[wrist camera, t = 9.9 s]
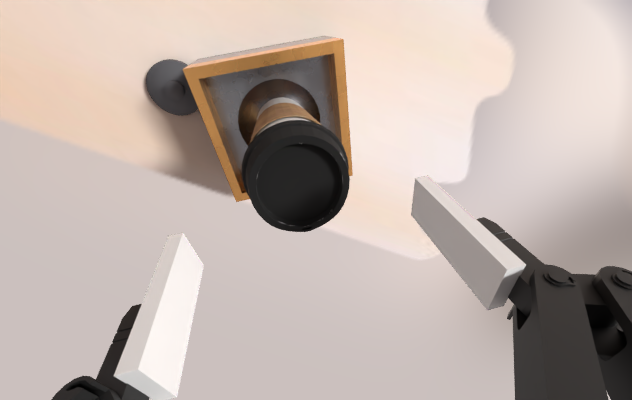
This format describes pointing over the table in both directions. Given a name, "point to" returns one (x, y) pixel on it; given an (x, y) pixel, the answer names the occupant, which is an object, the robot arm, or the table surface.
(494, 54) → the table surface
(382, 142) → the table surface
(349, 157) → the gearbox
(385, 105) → the table surface
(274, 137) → the coffee cup
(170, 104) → the disc
